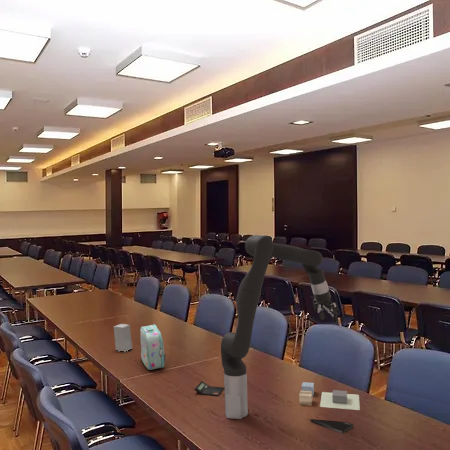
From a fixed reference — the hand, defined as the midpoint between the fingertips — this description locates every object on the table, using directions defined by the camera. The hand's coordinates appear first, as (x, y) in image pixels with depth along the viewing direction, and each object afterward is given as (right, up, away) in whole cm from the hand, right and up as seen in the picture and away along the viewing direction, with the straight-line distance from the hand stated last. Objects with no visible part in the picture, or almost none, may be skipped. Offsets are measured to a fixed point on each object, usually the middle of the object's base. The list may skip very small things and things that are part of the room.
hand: (329, 320), depth 218 cm
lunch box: (-90, -32, +35) cm, 102 cm away
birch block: (-15, -31, -23) cm, 42 cm away
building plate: (0, -31, -22) cm, 37 cm away
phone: (-9, -32, -41) cm, 53 cm away
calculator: (-57, -32, -5) cm, 66 cm away
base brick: (0, -30, -22) cm, 37 cm away
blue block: (-13, -31, -13) cm, 36 cm away
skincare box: (-112, -32, +63) cm, 132 cm away
